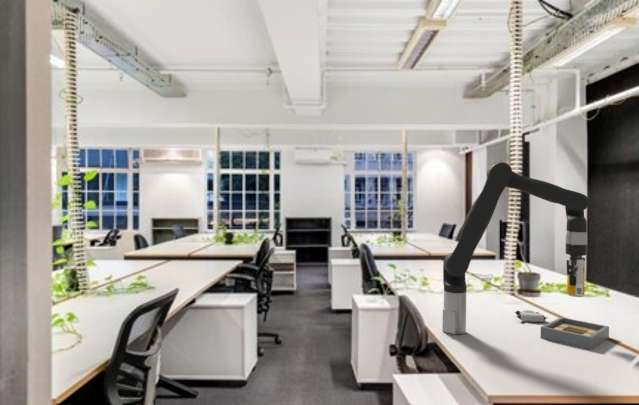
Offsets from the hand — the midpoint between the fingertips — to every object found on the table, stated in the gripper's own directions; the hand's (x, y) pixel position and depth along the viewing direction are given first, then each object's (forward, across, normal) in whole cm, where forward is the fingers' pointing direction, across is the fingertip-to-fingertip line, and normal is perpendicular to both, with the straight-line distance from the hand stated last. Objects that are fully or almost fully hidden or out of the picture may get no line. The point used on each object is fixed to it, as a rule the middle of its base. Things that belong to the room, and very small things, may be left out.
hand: (575, 284), depth 178 cm
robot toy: (+23, -15, -24) cm, 36 cm away
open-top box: (+23, 0, 0) cm, 23 cm away
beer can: (+5, 0, 0) cm, 5 cm away
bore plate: (+22, 0, 0) cm, 22 cm away
